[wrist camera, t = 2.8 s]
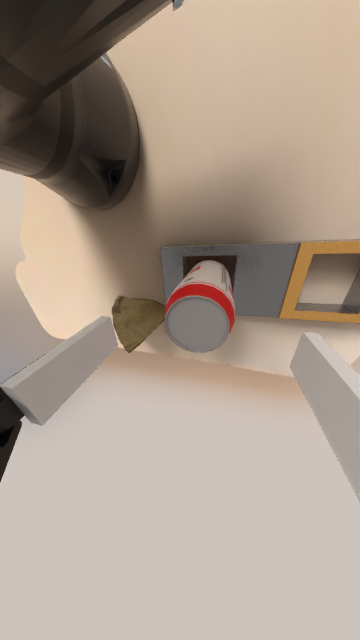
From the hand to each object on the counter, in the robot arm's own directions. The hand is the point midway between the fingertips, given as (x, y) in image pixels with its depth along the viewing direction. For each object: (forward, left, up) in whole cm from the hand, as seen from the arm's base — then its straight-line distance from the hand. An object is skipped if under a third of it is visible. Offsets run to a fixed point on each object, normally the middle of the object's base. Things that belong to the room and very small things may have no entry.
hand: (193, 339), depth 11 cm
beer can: (0, 0, -18) cm, 18 cm away
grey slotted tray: (+8, 0, -17) cm, 19 cm away
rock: (-13, -6, -18) cm, 23 cm away
